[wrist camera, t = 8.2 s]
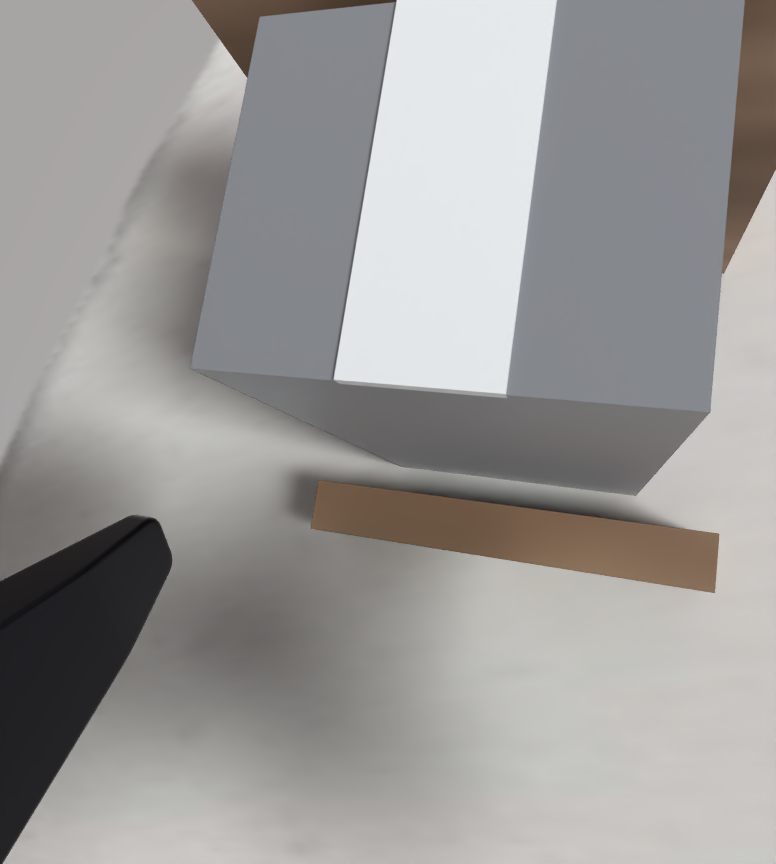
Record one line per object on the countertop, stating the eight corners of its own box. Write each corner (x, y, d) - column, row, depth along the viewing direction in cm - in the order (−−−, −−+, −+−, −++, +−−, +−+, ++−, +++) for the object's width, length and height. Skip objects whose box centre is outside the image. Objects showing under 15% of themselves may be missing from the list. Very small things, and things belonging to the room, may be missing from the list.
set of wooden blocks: (698, 588, 15) (889, 647, 6) (339, 531, 18) (62, 507, 8) (730, 198, 16) (927, -285, 7) (391, 201, 19) (202, -140, 10)
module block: (635, 495, 16) (710, 411, 6) (401, 466, 18) (187, 367, 8) (654, 300, 16) (748, -40, 7) (427, 292, 18) (258, 13, 9)
